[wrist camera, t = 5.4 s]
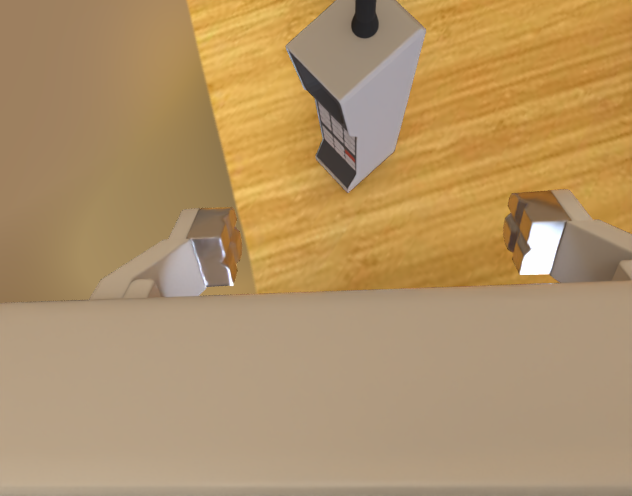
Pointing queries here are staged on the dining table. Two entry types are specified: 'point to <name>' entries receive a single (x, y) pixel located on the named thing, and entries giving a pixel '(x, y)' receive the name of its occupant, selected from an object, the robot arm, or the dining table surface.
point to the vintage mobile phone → (358, 81)
